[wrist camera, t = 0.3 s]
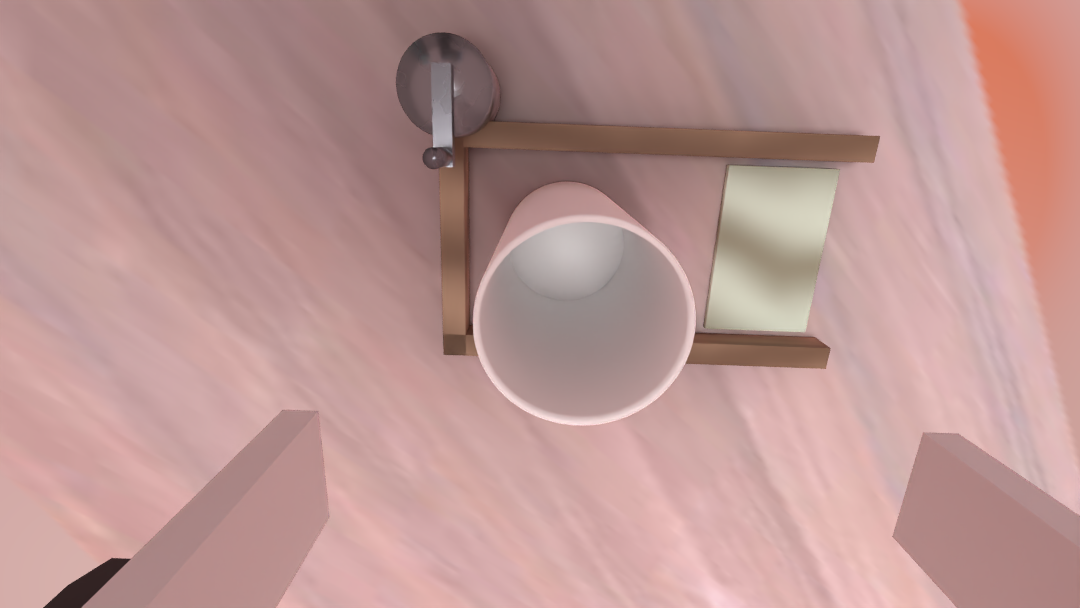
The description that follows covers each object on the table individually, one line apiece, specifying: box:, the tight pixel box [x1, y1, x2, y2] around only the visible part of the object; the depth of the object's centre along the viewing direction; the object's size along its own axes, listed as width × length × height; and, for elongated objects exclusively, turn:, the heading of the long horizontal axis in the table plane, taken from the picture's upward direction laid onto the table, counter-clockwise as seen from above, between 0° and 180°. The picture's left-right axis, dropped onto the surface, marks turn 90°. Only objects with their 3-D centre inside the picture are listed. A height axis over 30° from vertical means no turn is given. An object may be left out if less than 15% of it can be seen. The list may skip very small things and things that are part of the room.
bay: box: [439, 121, 880, 369], centre depth 32 cm, size 15×26×2 cm, turn 88°
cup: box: [473, 182, 696, 425], centre depth 26 cm, size 8×8×16 cm
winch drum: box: [396, 33, 501, 169], centre depth 27 cm, size 6×5×8 cm
